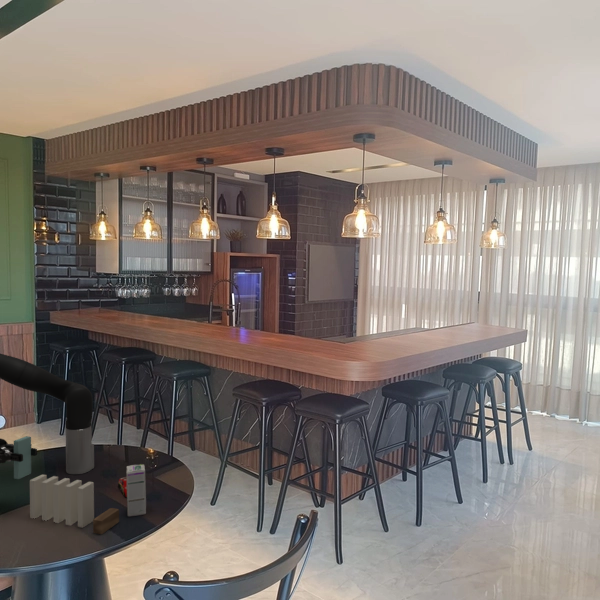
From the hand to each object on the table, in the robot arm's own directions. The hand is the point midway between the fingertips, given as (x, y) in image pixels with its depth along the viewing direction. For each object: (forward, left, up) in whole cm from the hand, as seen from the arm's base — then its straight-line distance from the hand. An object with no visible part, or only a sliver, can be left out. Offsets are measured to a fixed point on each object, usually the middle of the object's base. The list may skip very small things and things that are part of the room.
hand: (29, 455), depth 160 cm
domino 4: (-4, +12, -19) cm, 23 cm away
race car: (-29, +10, -19) cm, 37 cm away
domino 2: (-1, +3, -19) cm, 19 cm away
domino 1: (+1, -2, -7) cm, 7 cm away
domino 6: (-7, +20, -19) cm, 29 cm away
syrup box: (-22, +26, -19) cm, 39 cm away
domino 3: (-3, +7, -19) cm, 20 cm away
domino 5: (-6, +16, -19) cm, 25 cm away
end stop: (-10, +27, -19) cm, 34 cm away
